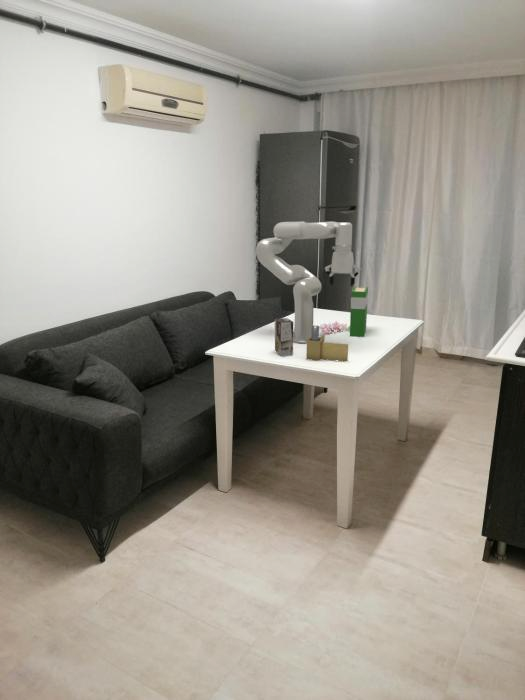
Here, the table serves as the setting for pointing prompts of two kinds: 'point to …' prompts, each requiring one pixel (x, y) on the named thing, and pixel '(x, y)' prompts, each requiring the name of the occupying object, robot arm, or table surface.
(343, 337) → the table surface
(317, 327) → the pin
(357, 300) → the hardback book
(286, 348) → the coffee box
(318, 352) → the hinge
